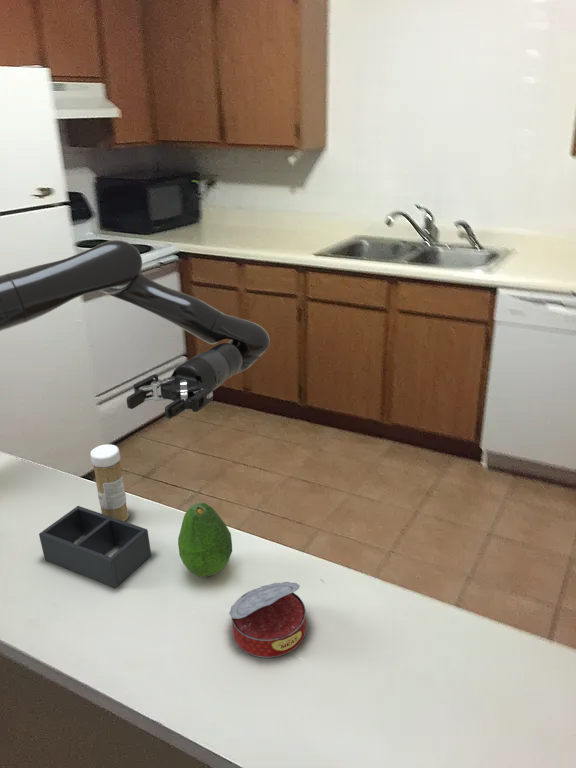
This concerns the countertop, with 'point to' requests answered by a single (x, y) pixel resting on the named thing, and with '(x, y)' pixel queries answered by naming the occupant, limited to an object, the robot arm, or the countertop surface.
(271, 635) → the canned food
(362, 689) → the countertop surface
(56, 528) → the divided storage box
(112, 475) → the sprinkles bottle
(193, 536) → the avocado
